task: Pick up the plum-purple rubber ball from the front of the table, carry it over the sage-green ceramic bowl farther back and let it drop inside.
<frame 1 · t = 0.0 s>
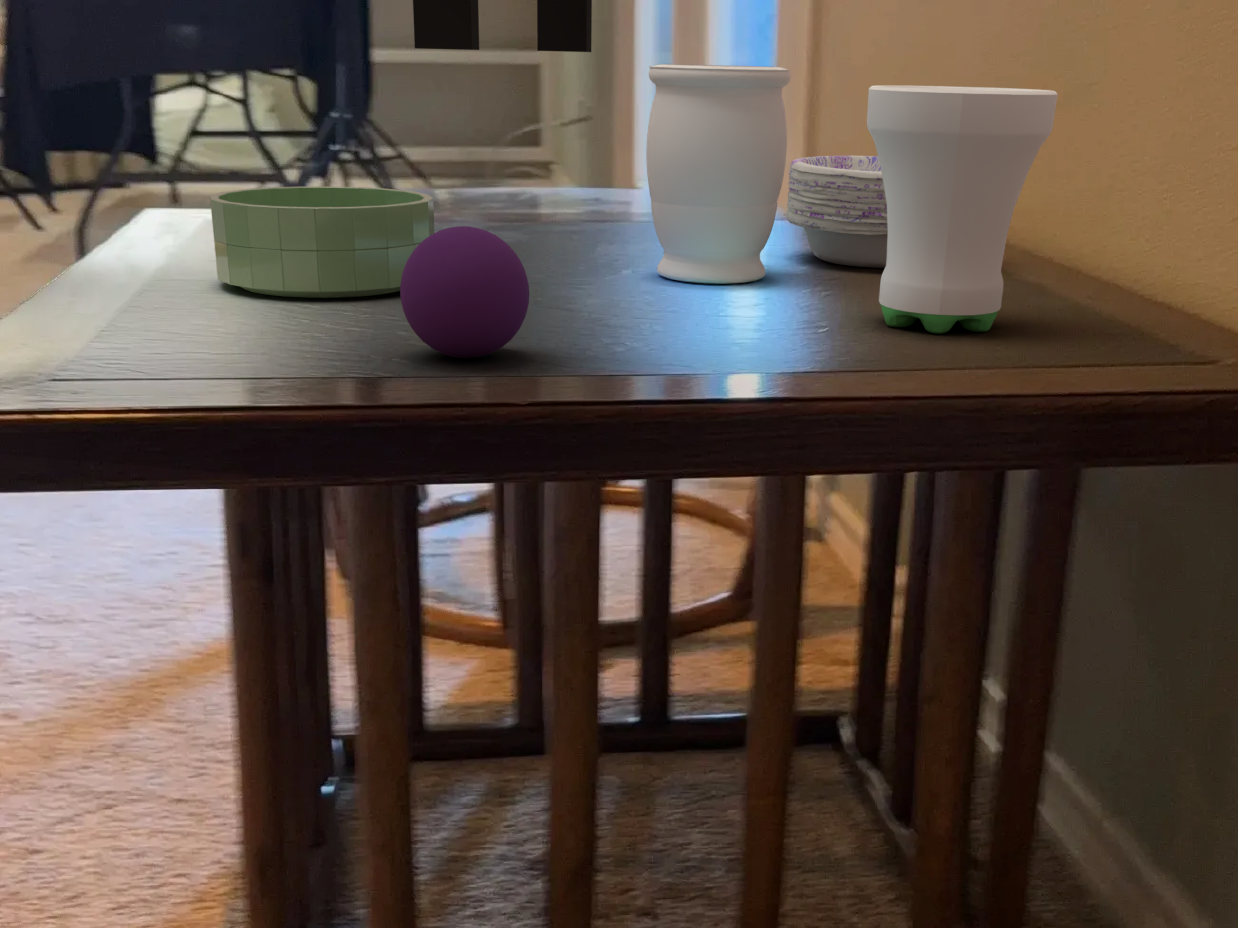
hand: (511, 51, 65), 16 cm above the table, tool pointing down, fingers open, 13 cm apart
paper bowls: (874, 263, 116), on the table
bowl: (328, 283, 99), on the table
cup: (936, 327, 89), on the table
ball: (466, 356, 77), on the table
jar: (710, 279, 106), on the table
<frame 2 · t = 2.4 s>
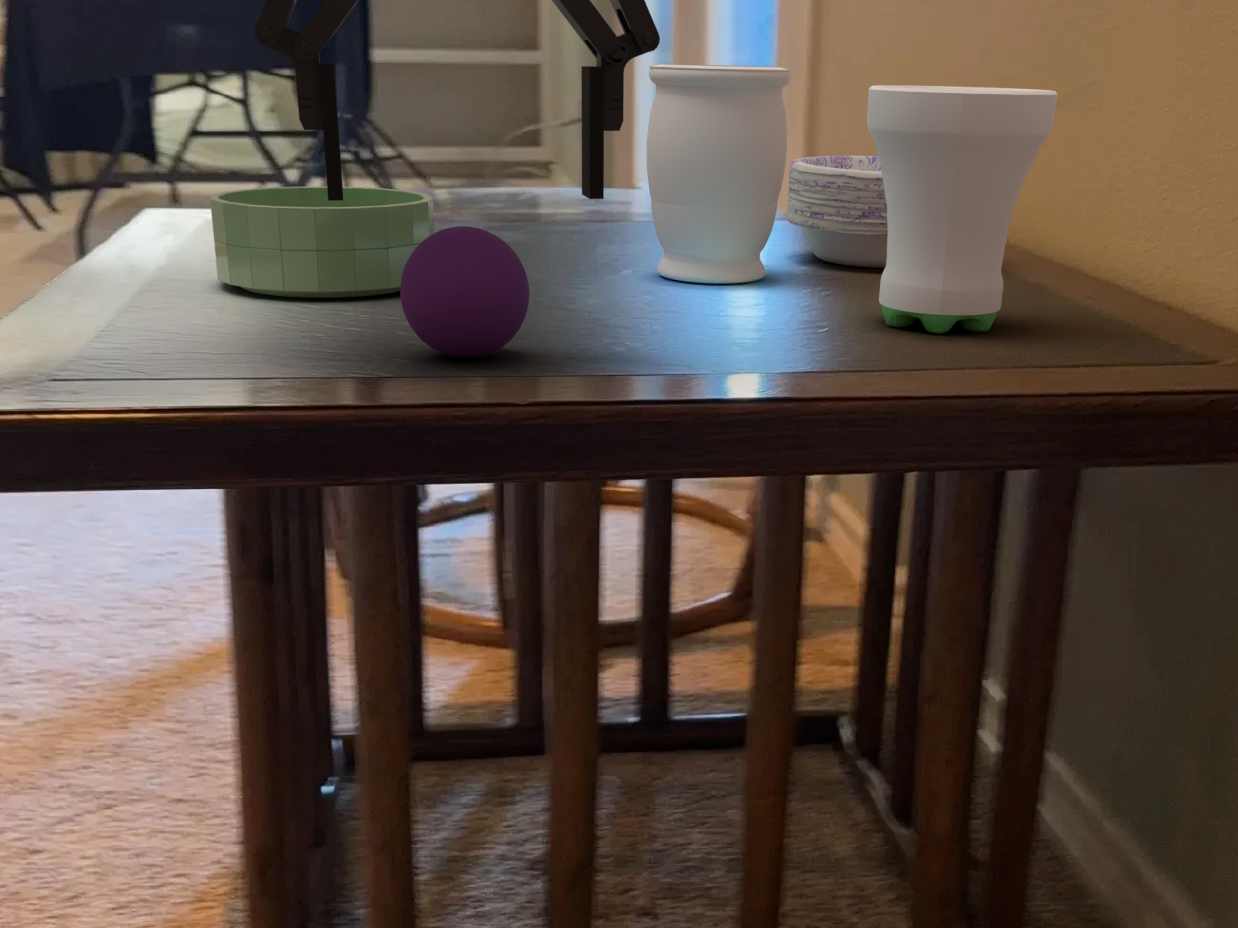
hand: (466, 198, 73), 8 cm above the table, tool pointing down, fingers open, 13 cm apart
nothing on the table moved.
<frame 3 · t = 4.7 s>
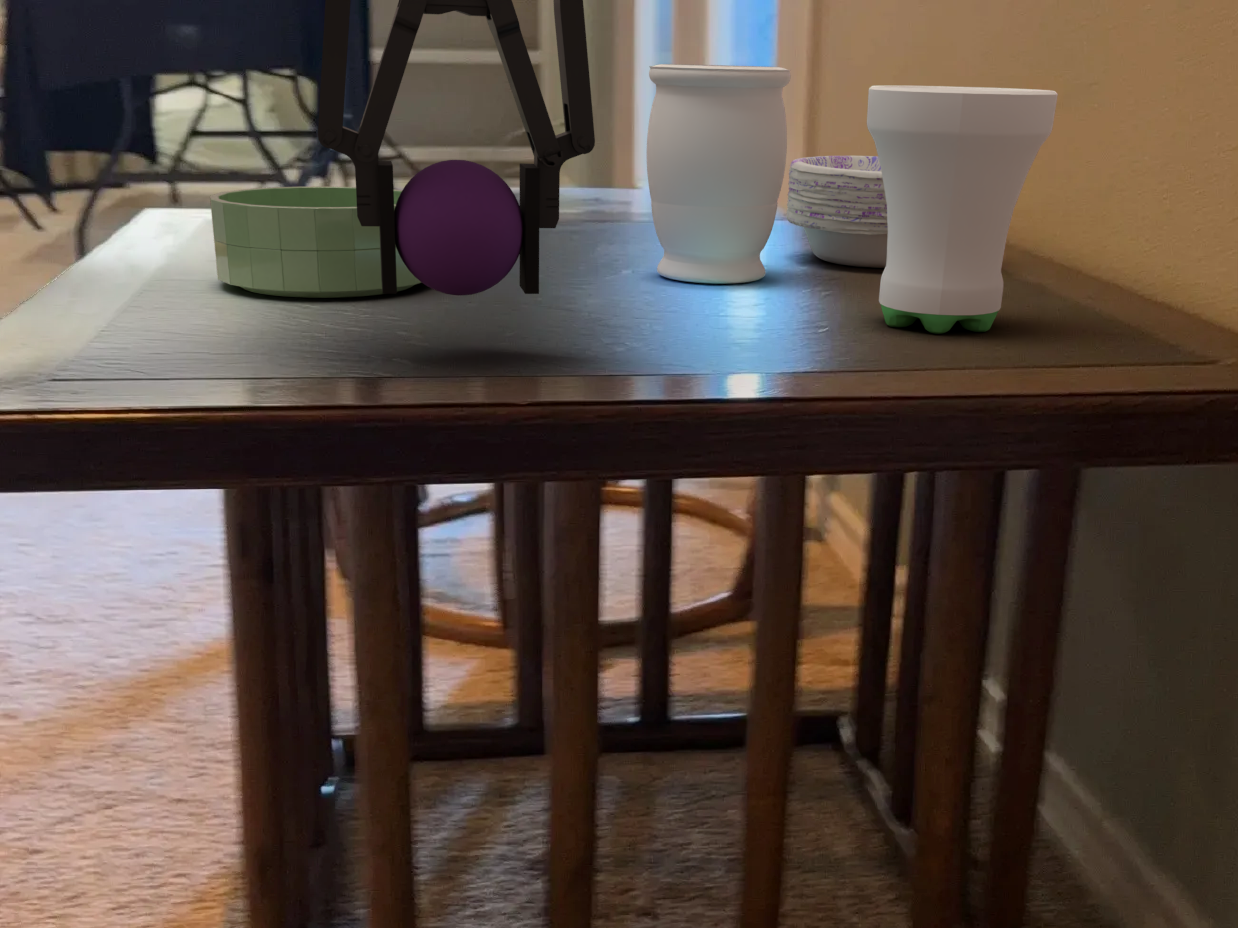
hand: (459, 288, 75), 4 cm above the table, tool pointing down, fingers closed on ball, 7 cm apart
ball: (459, 294, 76), point 3 cm above the table, touching gripper
everything else where it was.
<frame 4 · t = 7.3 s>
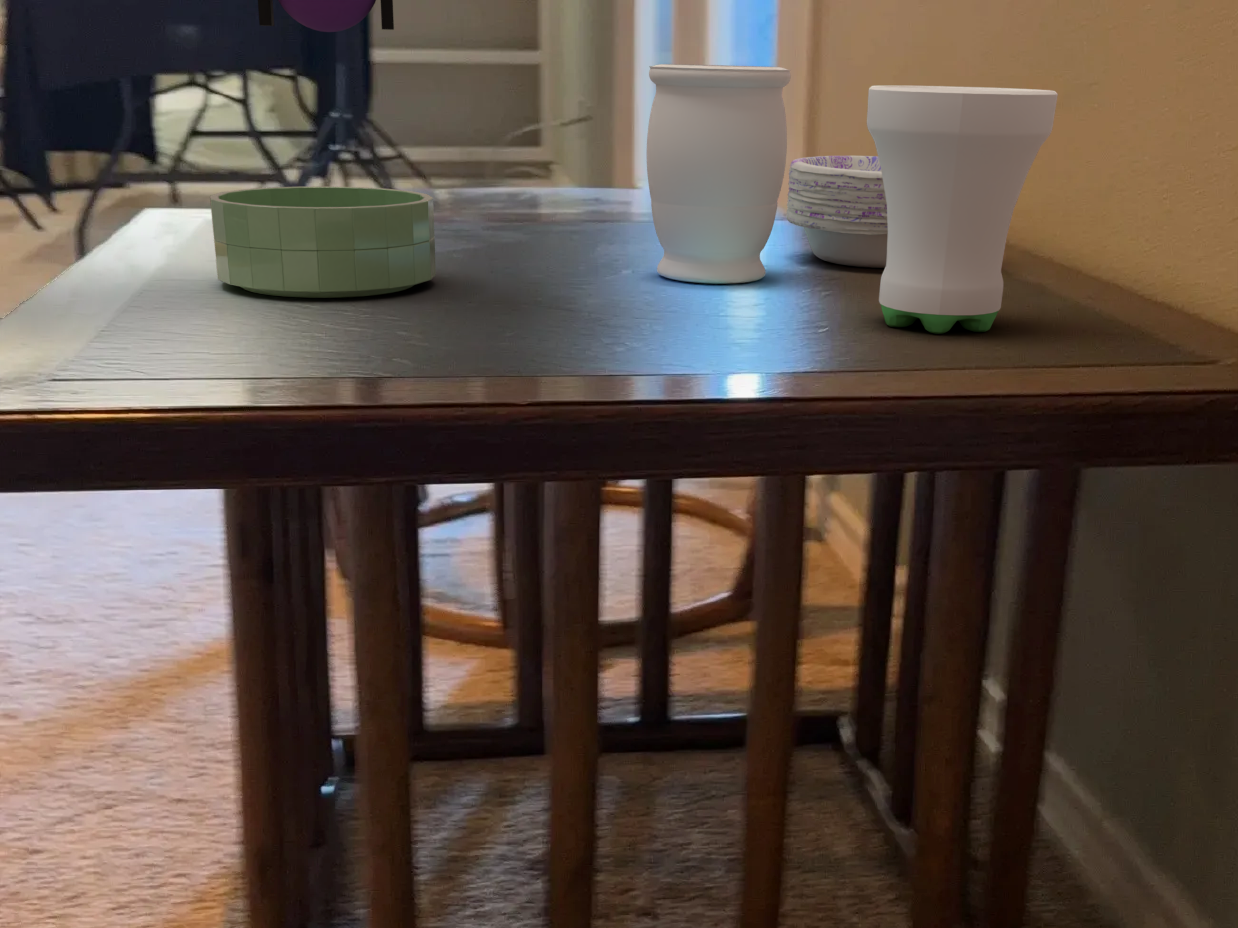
hand: (327, 26, 89), 17 cm above the table, tool pointing down, fingers closed on ball, 7 cm apart
ball: (328, 31, 89), point 17 cm above the table, touching gripper
everything else where it was.
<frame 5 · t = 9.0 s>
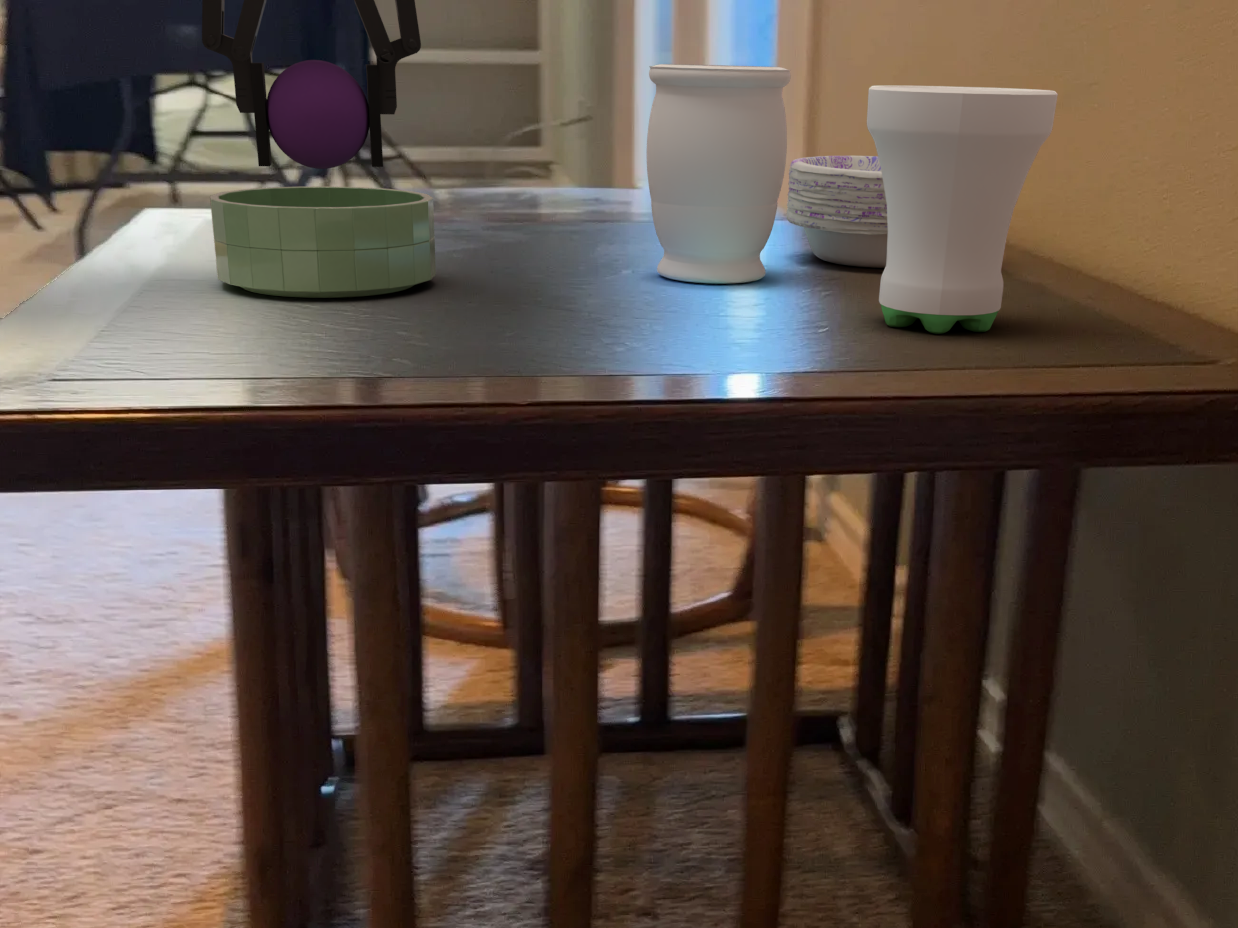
hand: (321, 164, 96), 8 cm above the table, tool pointing down, fingers closed on ball, 7 cm apart
ball: (321, 168, 96), point 8 cm above the table, touching gripper
everything else where it was.
when the fingers open (5 cm above the table, at t = 10.3 s): ball drops 4 cm, resting on bowl.
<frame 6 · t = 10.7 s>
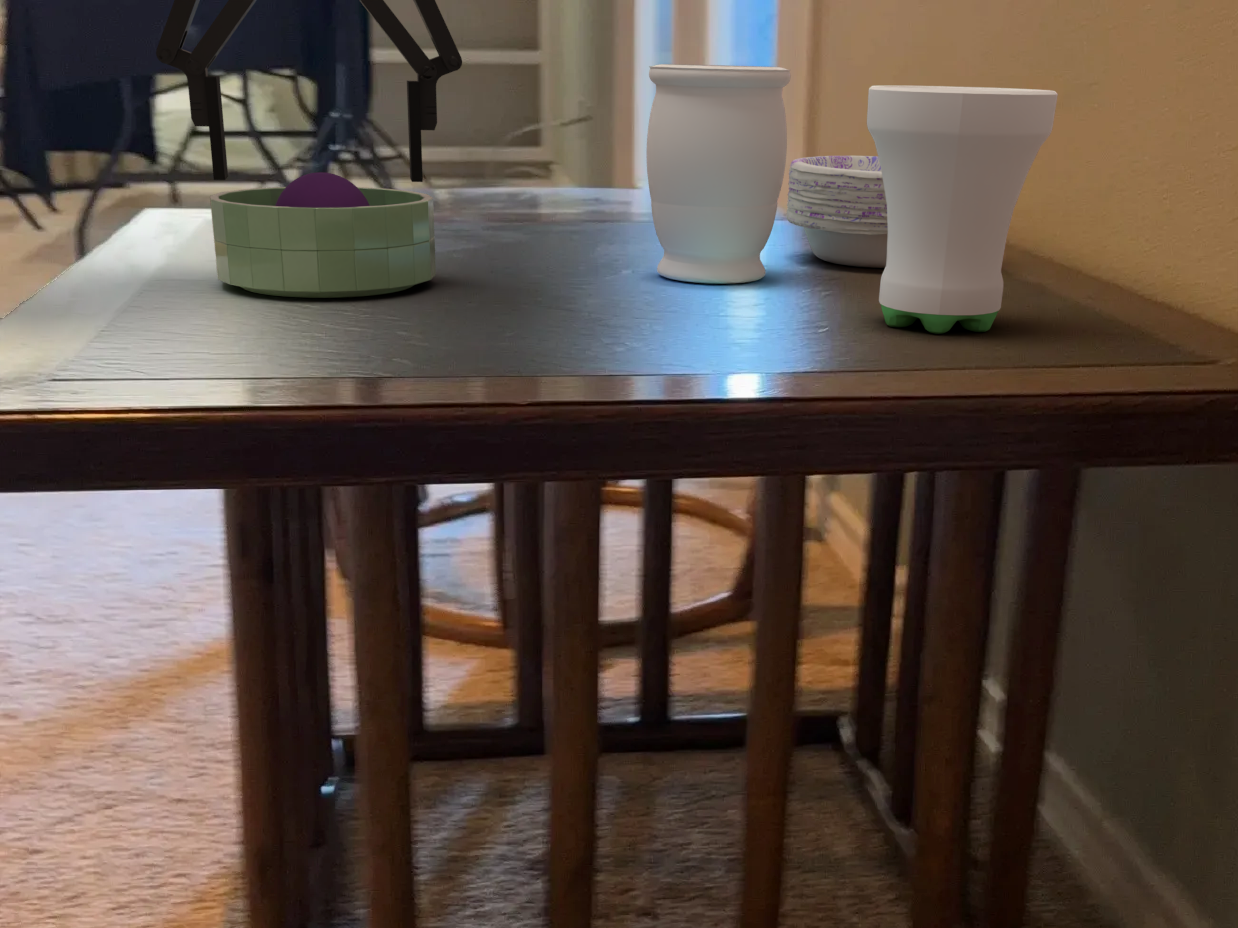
hand: (319, 179, 96), 7 cm above the table, tool pointing down, fingers open, 13 cm apart
ball: (327, 274, 99), point 1 cm above the table, touching bowl
everything else where it was.
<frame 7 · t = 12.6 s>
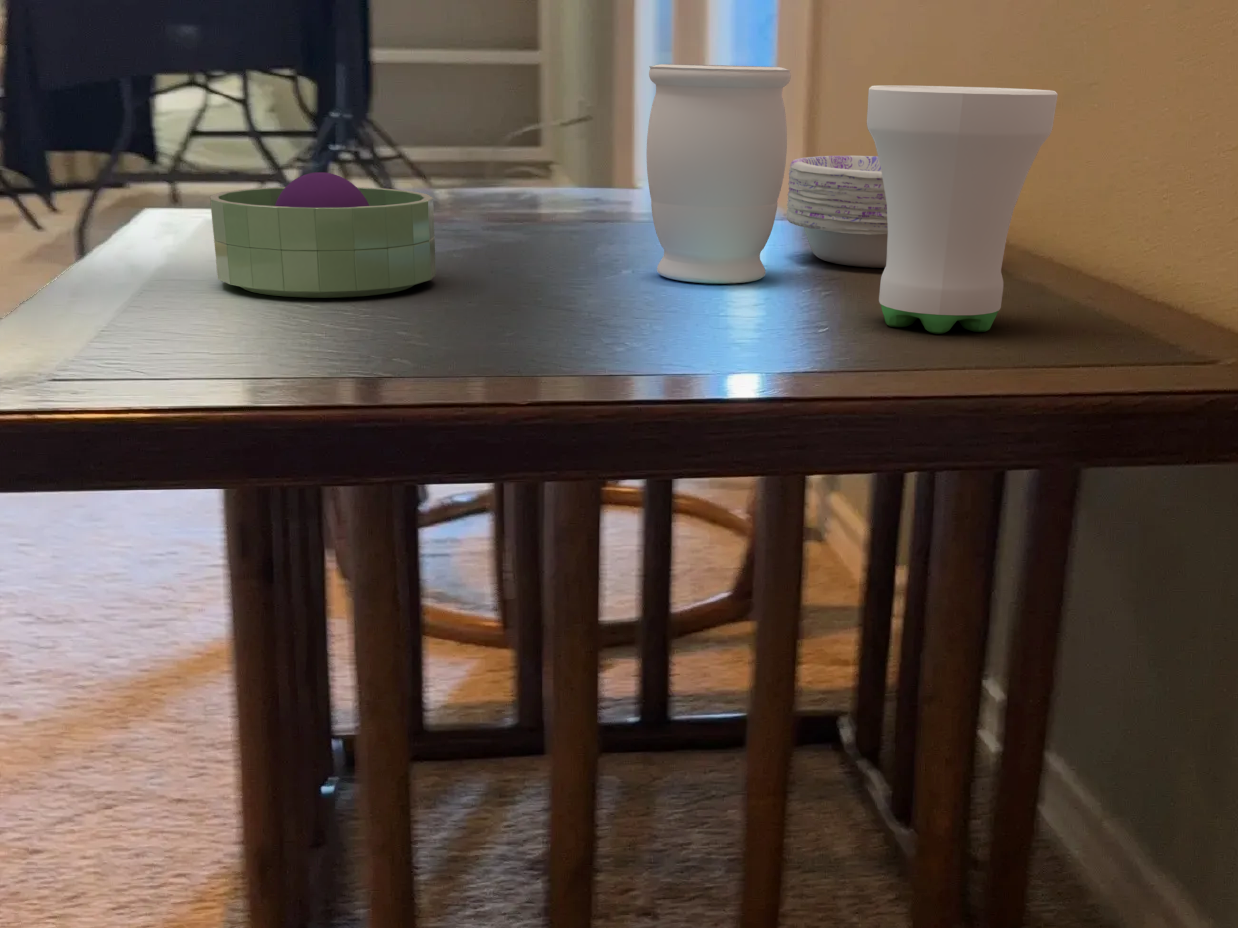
nothing on the table moved.
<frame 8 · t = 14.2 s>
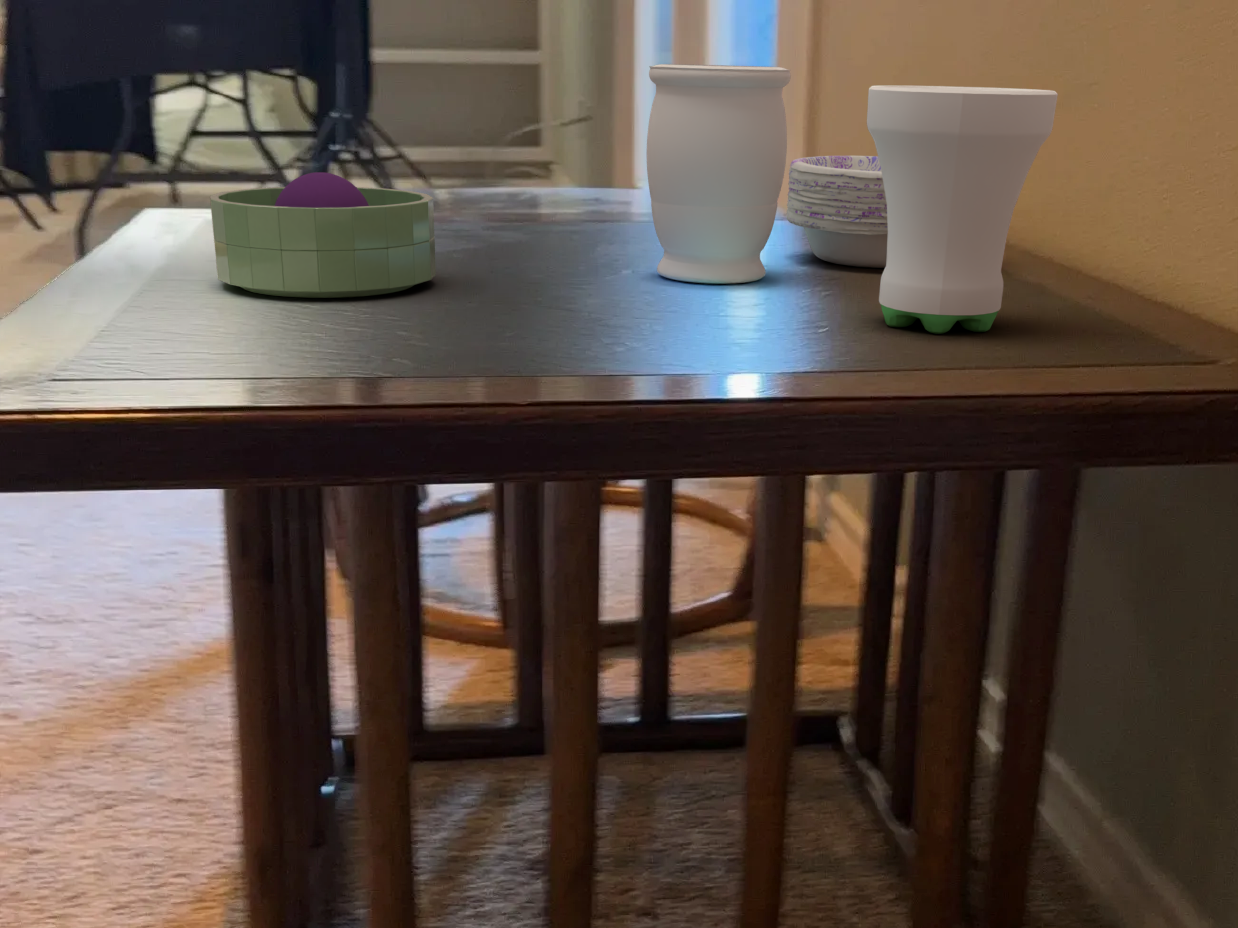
nothing on the table moved.
at the end: ball inside the target area in the bowl (0.1 cm from its centre), point 0.6 cm above the bowl's base; the gripper is holding nothing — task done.
